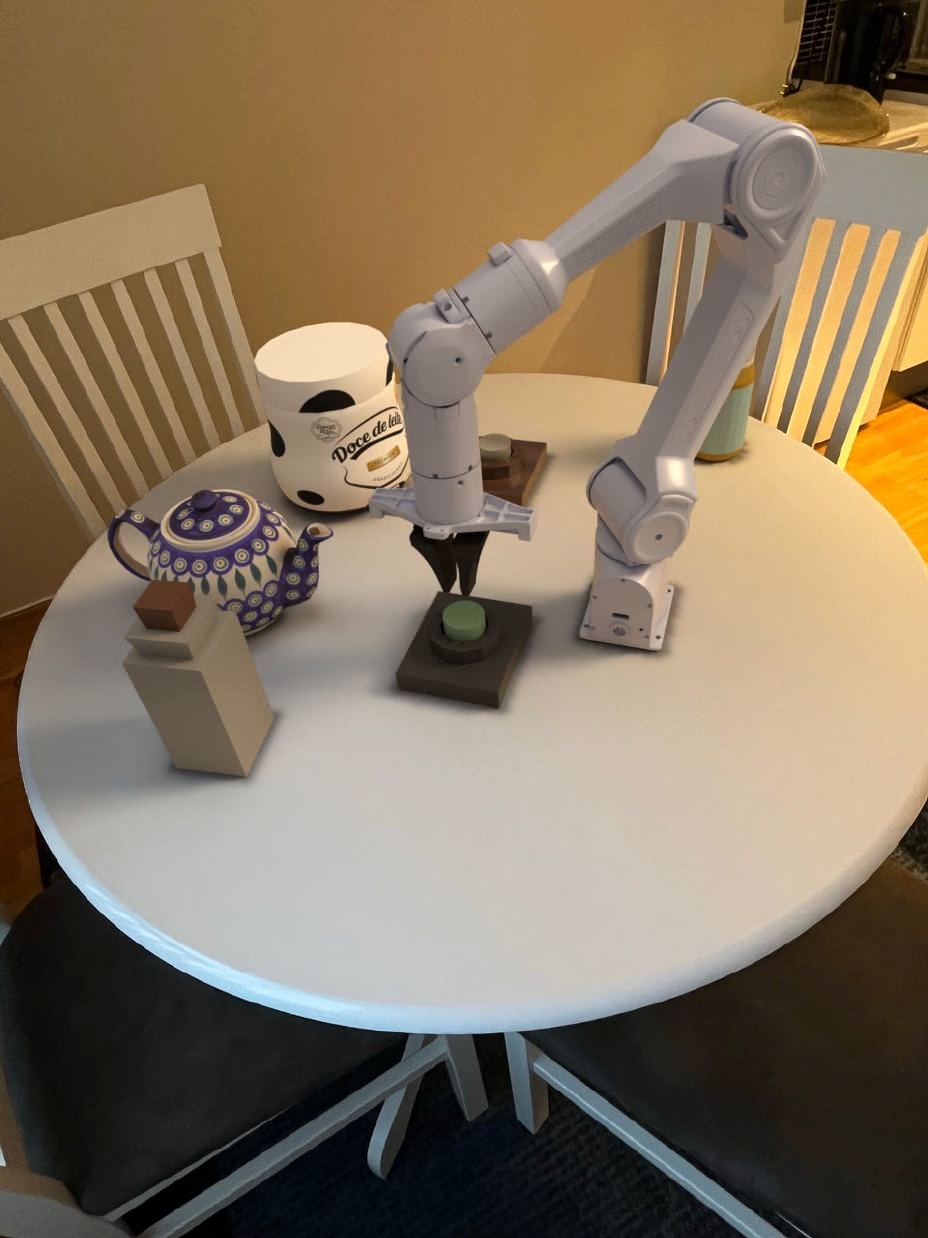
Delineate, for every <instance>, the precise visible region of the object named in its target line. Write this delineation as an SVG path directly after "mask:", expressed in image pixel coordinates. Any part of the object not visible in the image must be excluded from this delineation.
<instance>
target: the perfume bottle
mask: <svg viewBox="0 0 928 1238" xmlns="http://www.w3.org/2000/svg"><path fill="white" fill-rule="evenodd" d="M149 582H150V581H149ZM132 609H133V610H134V612H135V614H136V615H137V618H136V619H135V620H134V622H133V623H132V625H131V626H130V627H129V629H128V630H127V632H125V635H124V636H123V638H124V640H126V641H127V642H128V643H129V644H130V645H131V646H132V647H131V649H130V651H129V652H128V653H127V655H126V657H125V658H124V659H123V660H122V663H121V664H122V666H123V668H124V670H125V672H126V674H127V676H128V678H129V679H130V682H131V684H132V685H133V688H134V689H135V692H136V693H137V695H138V697H139V699H140V701H141V702H142V704H143V707H144V708H145V711H146V713H147V714H148V716H149V718H150V720H151V722H152V723H153V725H154V728H155V729H156V731H157V733H158V735H159V737H160V739H161V741H162V743H163V745H164V747H165V748H166V751H167V752H168V755H169V756H170V759H171V760H172V762H173V764H174V766H175V768H176V769H181V770H188V771H198V772H204V773H211V774H219V775H220V774H221V775H226V776H227V775H228V776H235V777H245V778H247V776H248V775H249V773H250V771H251V768H252V766H253V764H254V763H255V761H256V758H257V756H258V754H259V752H260V750H261V747H262V746H263V743H264V742H265V739H266V737H267V735H268V733H269V730H270V728H271V727H272V725H273V722H274V721H275V715H274V713H273V711H272V708H271V705H270V702H269V698H268V697H267V694H266V690H265V688H264V686H263V683H262V680H261V677H260V674H259V672H258V670H257V667H256V664H255V661H254V658H253V656H252V652H251V650H250V648H249V645H248V642H247V639H246V637H245V636H244V634H243V631H242V628H241V625H240V623H239V620H238V617H237V614H236V612H233V611H221V610H217V596H209V595H197V594H193V591H192V588H191V584H190V583H189V582H176V581H163V580H152V581H151V582H150V583H149V584H148V585H147V587H146V588H145V589H144V590H143V592H142V593H141V595H140V596H139V598H138V599H137V601H136V602H135V603H134V605H133V606H132Z"/></svg>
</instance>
